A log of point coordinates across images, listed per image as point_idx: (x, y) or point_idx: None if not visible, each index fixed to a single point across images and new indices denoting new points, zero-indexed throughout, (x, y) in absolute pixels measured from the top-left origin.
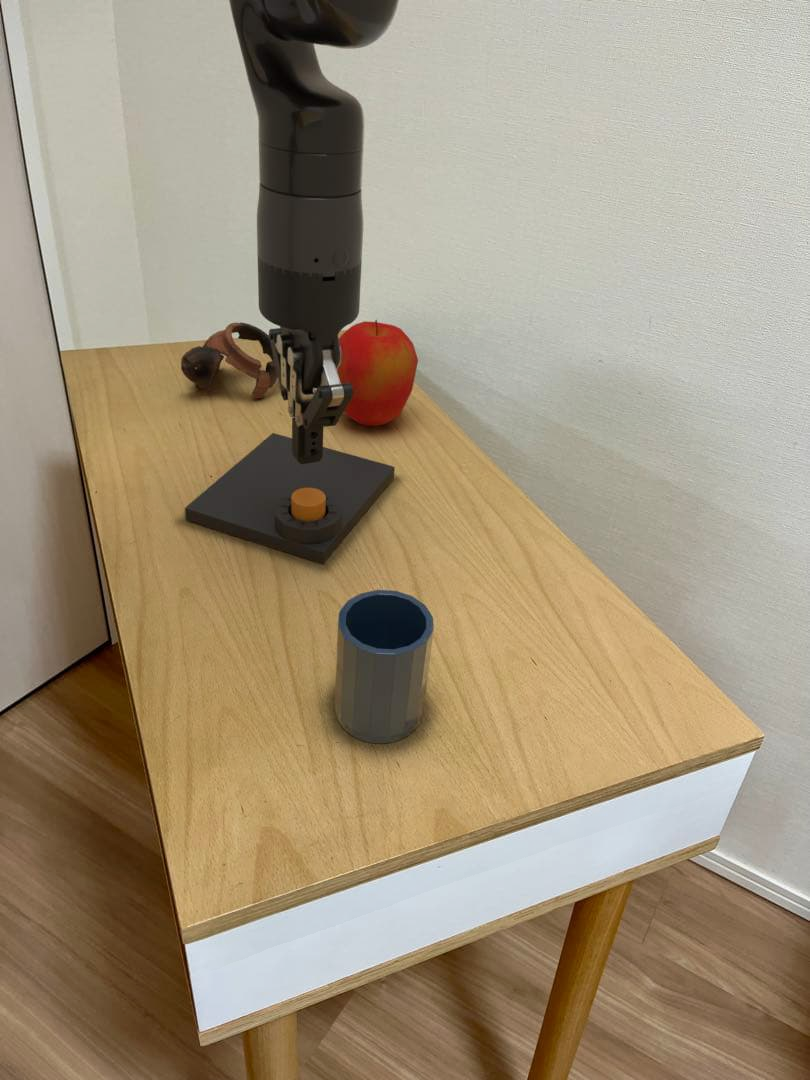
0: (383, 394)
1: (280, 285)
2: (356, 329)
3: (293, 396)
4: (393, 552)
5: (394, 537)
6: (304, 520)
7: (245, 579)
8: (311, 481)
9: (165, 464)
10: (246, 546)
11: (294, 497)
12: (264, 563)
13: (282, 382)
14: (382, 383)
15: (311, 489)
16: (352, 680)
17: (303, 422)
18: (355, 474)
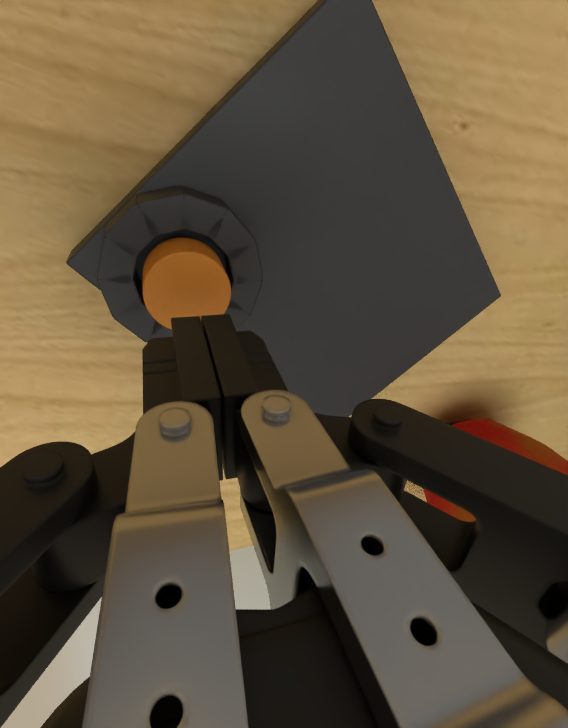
0: (446, 502)
1: None
2: None
3: (142, 534)
4: (88, 385)
5: (135, 398)
6: (147, 257)
7: (38, 38)
8: (325, 316)
9: (563, 30)
10: (183, 102)
11: (194, 260)
12: (102, 120)
13: (366, 487)
14: (460, 518)
15: (216, 309)
16: None
17: (43, 464)
18: (312, 392)
